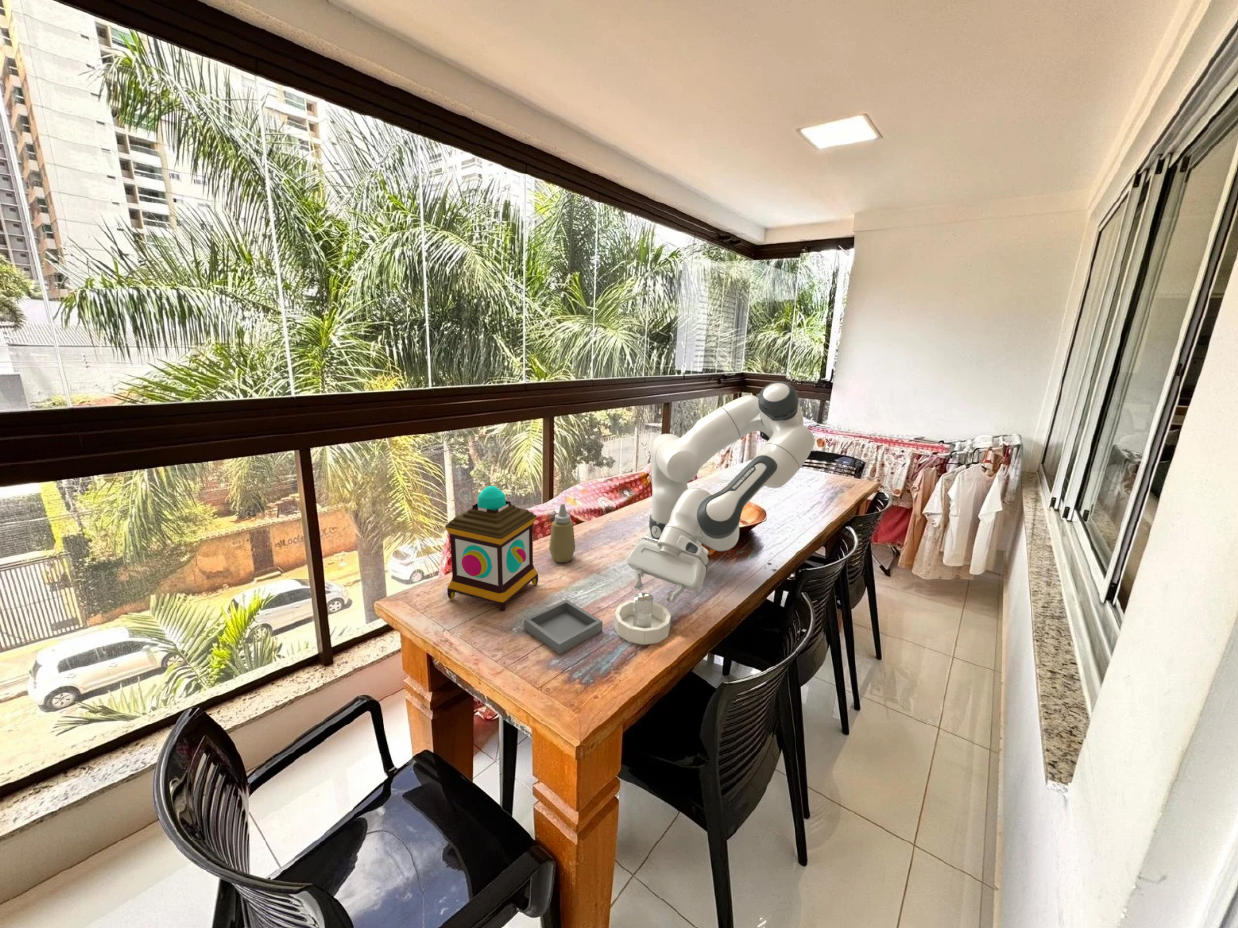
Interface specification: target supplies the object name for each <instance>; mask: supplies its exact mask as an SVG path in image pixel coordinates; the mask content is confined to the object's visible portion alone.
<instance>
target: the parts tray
mask: <svg viewBox="0 0 1238 928" xmlns="http://www.w3.org/2000/svg"><path fill="white" fill-rule="evenodd" d="M523 629H524V630H525V631H526V632H527V633H529V634H530V635H532V636H533V637H535V638H536V639H538V641H540V642H541V643H543V644H544V645H545V646H547V647H548V648H549V649H551V650H553V651H554V652H555V653H556V654H558V655H561V654H563V653H565V652H567V651H569V650H570V649H572V648H574V647H576V646H577V645H579V644H582V643H583V642H585V641H587V640H588V639H590V638H592V637H593V636H596V635H597V634H599V633H600V632H602V631H603V620H601V619H599V618H598V617H597V616H595V615H593V614H592V613H590V612H588V611H587V610H585V609H583V608H582V607H580V606H578V605H577V604H575V603H573V602H572V601H570V600H568V599H564V600H563V601H560V602H558V603H556V604H553V605H552V606H549V607H547V608H545V609H543V610H541V611H538V612H537V613H534V614H532V615H530V616H528V617H526V618H523Z"/></svg>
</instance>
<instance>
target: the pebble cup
mask: <svg viewBox="0 0 1238 928" xmlns="http://www.w3.org/2000/svg"><path fill="white" fill-rule="evenodd" d="M633 600H634V611H633V626H634V627H640V628H651V626H652V611H653V601H654V596H653V595H652V594H650V593H647V592H637V593H636V594H634V598H633Z"/></svg>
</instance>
